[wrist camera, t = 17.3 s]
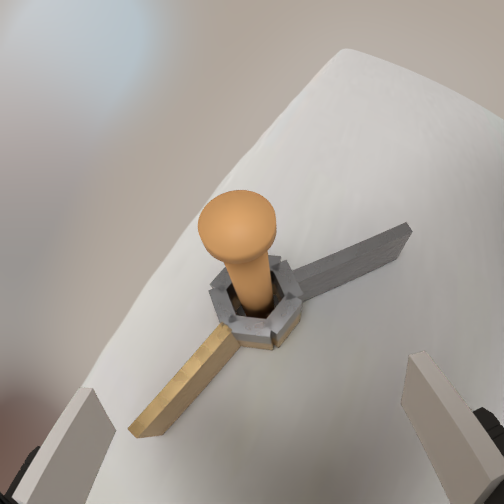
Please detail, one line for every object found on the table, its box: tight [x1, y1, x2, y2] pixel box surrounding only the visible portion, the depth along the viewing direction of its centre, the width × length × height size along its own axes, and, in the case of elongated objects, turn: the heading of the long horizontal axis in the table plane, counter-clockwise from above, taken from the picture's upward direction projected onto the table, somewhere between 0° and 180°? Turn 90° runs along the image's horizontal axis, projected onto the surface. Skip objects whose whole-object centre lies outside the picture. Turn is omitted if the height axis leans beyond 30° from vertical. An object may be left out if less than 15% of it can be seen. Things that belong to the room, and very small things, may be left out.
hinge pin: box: [198, 190, 276, 319], centre depth 25 cm, size 4×4×17 cm
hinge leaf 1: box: [128, 284, 301, 438], centre depth 28 cm, size 8×21×6 cm, turn 141°
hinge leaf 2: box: [209, 223, 413, 344], centre depth 30 cm, size 20×8×6 cm, turn 111°
